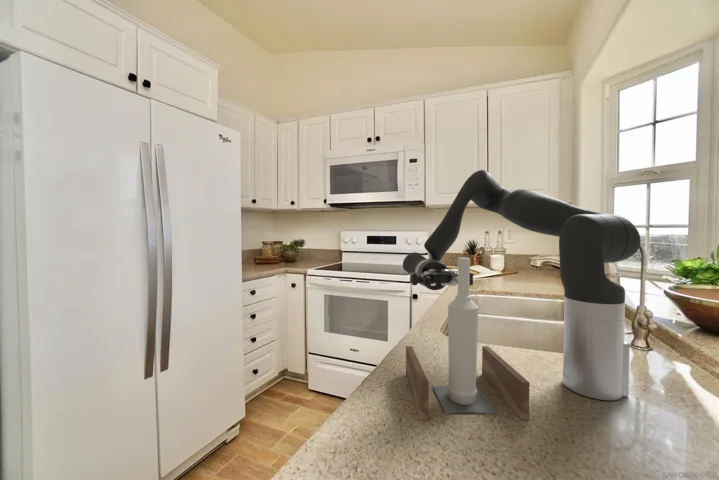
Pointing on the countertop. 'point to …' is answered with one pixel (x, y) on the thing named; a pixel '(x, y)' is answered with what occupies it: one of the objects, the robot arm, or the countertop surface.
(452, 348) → the bottle
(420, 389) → the arena
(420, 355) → the countertop surface
